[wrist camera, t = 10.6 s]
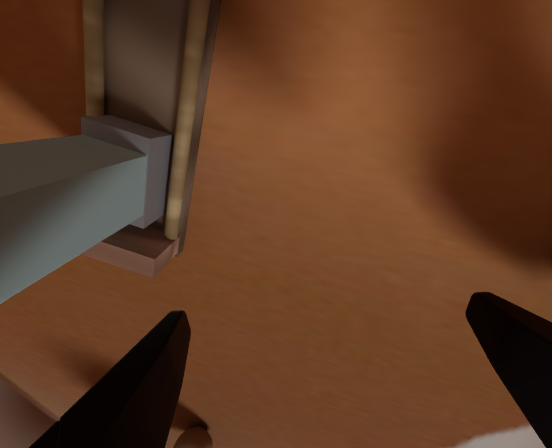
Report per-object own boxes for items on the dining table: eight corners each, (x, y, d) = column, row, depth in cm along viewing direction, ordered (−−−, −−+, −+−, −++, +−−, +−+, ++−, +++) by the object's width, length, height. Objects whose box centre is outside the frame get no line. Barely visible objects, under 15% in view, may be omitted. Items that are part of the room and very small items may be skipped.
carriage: (111, 115, 17) (-382, 134, 5) (172, 134, 17) (-181, 201, 5) (110, 197, 20) (-219, 342, 8) (163, 214, 20) (-84, 388, 8)
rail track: (104, -101, 14) (16, -186, 10) (230, -61, 14) (193, -131, 10) (104, 225, 22) (57, 251, 18) (182, 250, 22) (152, 282, 18)
